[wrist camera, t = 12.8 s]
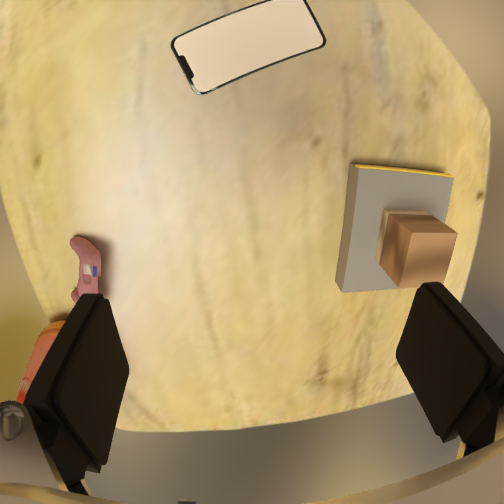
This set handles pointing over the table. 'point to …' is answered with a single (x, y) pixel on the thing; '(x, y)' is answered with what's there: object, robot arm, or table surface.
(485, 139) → the table surface
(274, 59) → the smartphone
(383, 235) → the brown wooden block
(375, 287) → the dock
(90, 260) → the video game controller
